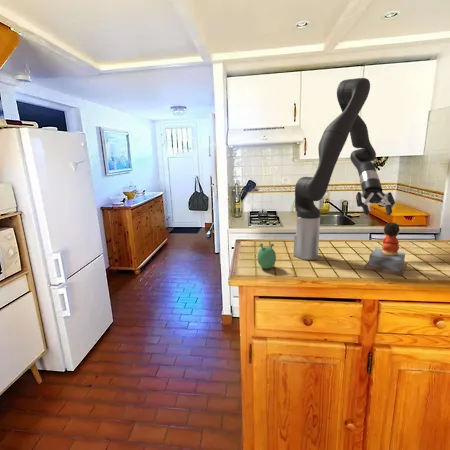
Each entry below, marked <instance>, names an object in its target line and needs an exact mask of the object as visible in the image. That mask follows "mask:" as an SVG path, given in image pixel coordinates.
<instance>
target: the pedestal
mask: <svg viewBox="0 0 450 450" xmlns="http://www.w3.org/2000/svg"><path fill="white" fill-rule="evenodd" d="M382 250H383V248H378V247H377V248H375V249H374V250H373V251H372V252H371V253H370V254H369V259H368V262H367V263H366V264H365V265H364V269H366V270H371V271H376V272H381V273H385V274H390V275H395V276H400V277H402V276H403V275H404V273H405V271H406V268H407V267H408V262H406V261H405V258H406V252H401V251H397V252H398V254H399V255H395V256H391V255H385V254H383V253H381V252H382Z"/></svg>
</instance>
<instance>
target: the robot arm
mask: <svg viewBox="0 0 450 450" xmlns="http://www.w3.org/2000/svg"><path fill="white" fill-rule="evenodd" d="M370 82H371V81H370V80H369V79H368V78H366V77H359V78H358V77H357V78H350V79H344V80H342V81H340V82H339V84H338V85H337V89H336V99H337V101H338V102H337V103H338V105H339V108H340V109H341V113H340V114H339V115H338V116H337V117H336V118H334V119H333V120H332V121H331V122H330V123H329V124H328V125H327V127H325V129H324V131H323V133H322V135H321V137H320V140H319V143H318V147H317V148H318V160H319V161H318V166H317V169H316V171H315V173H314V175H313V177H312V176H302V177H300V178H298V180H297V182H296V184H295V188H294V207H295V212H296V233H295V234H294V235H293V257H296V258H298V259H301V260H309V261H310V260H317V259H318V258H319V243H320V241H319V240H320V228H321V227H320V226H321V210H320V208H318V207H317V206H316V204H315V202H319V201H321V200H322V199H323V198H324V196H325V194H326V193H327V191H328V187H329V184H330V182H331V178H332V175H333V172H334V170H335V167H336V165H337V162H338V159H339V157H340V154H341V152H342V151H343V148H344V146H345V144H346V142H347V140H348V137H349V136H350V140H351V144H352V145H351V146H352V147H353V148H355V150H353V151H352V152H350V156H349V158H350V160H351V161H350V162H351V163H352V164H353V166H354V167H355V169H356V170H357V173H358V176H359V185H360V187H361V191H362V193H361V192H360V191H358V192H357V193H356V196H355V200H356V201H355V202H356V206H357V207H361V208H362V211H363V214H365V216H368V215H370V210H369V209H370V208H369V205H368V204H369V203H370V204H379V205H380V206H383V207H384V208H385V209H384V210H385V211H386V214H387V216H390V215H391V214H392V213H393V209H392V208H393V207H394V205H395V204H396V201H395V198H394V196H393V193H392V192H390V191H389V192H387V193H384V192H383V187H382V184H381V179H380V178H379V174H378V173H377V169H376V165H375V164H374V163H373V161H374V160H375V159H376V157H377V153H376V150H375V149H374V147H373V145H372V144H371V141H370V137H369V131H368V126H367V124H366V123H365V121H364V119H363V118H362V117H361V116H360V115H359V113H360V112H361V110H362V108H363V107H364V105H365V103H366V101H367V99H368V97H369V94H370V90H371V83H370ZM362 198H364V200H365V201H364V202H363V200H362Z"/></svg>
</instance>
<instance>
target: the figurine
mask: <svg viewBox="0 0 450 450" xmlns="http://www.w3.org/2000/svg"><path fill="white" fill-rule="evenodd" d="M383 234H384V235H385V237H384V238H383V239H382V244H381V247H382V248H381V249H383V250H382V252H381V253H383V254H385V255H391V256H395V255H399V254H398V252H399V249H400V245H399V244H400V242H399V239H398V238H397V236H398V235H399V234H400V226H399V224H397V223H396V222H393V221H391V222H389V221H388V222H387V223H386V224H385V226H384V227H383Z"/></svg>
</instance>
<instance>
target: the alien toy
mask: <svg viewBox="0 0 450 450" xmlns="http://www.w3.org/2000/svg"><path fill="white" fill-rule="evenodd" d="M263 245H264V243H261V242H260V243H259V247H261V248H259V249H258V252H257V257H256V258H257V262H258V265H259V266H260V267H261V268H262V269H266V270H267V269H268V270H269V269H271V268H273V267H274V265H275V263H276V261H277V254H276V252H275V250H274V248H272V247H274V246H275V244H274V243H269V245H270V246H263Z"/></svg>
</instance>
